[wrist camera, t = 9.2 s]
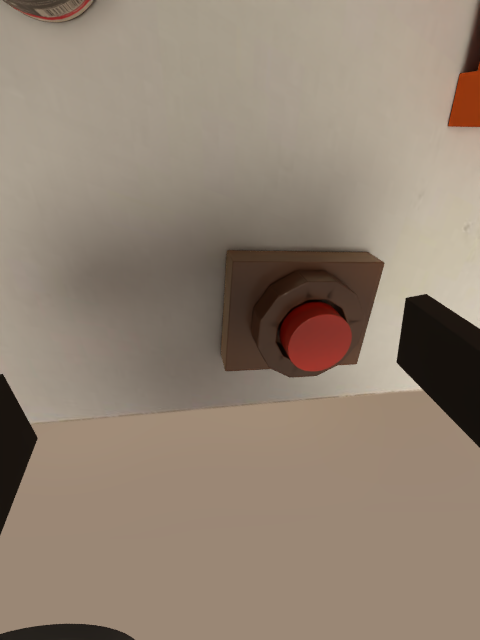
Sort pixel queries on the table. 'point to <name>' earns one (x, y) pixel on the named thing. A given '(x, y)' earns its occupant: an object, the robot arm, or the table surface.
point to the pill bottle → (50, 8)
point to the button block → (291, 302)
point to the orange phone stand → (467, 101)
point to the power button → (315, 336)
